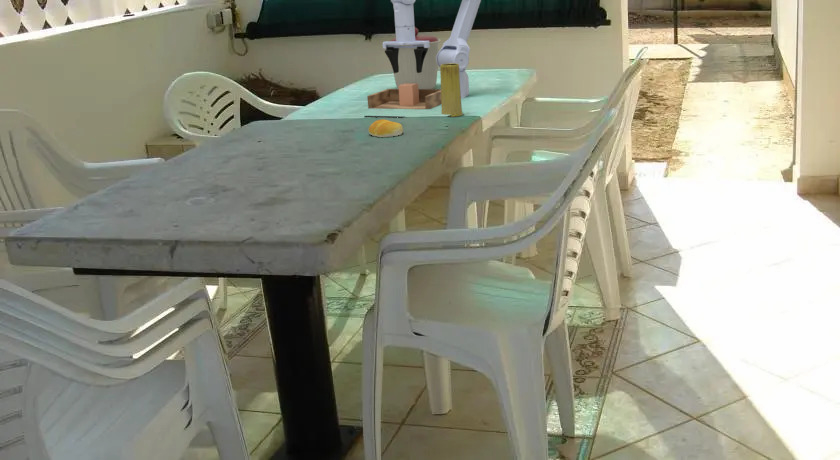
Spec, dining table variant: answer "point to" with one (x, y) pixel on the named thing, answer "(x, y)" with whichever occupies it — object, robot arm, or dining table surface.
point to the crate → (391, 101)
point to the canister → (408, 64)
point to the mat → (384, 116)
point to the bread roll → (385, 128)
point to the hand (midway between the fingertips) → (407, 72)
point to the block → (408, 94)
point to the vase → (450, 90)
